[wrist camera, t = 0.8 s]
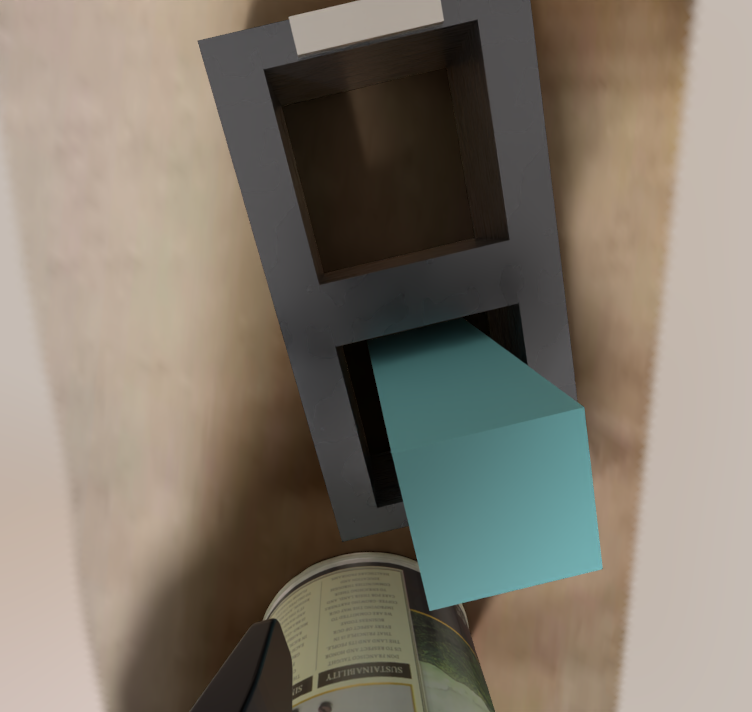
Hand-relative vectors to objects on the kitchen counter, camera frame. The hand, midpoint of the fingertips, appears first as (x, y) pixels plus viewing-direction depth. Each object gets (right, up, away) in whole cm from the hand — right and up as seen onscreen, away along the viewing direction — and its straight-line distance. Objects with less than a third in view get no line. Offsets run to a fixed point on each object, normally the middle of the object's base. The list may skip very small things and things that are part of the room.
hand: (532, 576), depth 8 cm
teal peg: (-1, +3, +11) cm, 12 cm away
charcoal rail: (-2, +7, +10) cm, 12 cm away
